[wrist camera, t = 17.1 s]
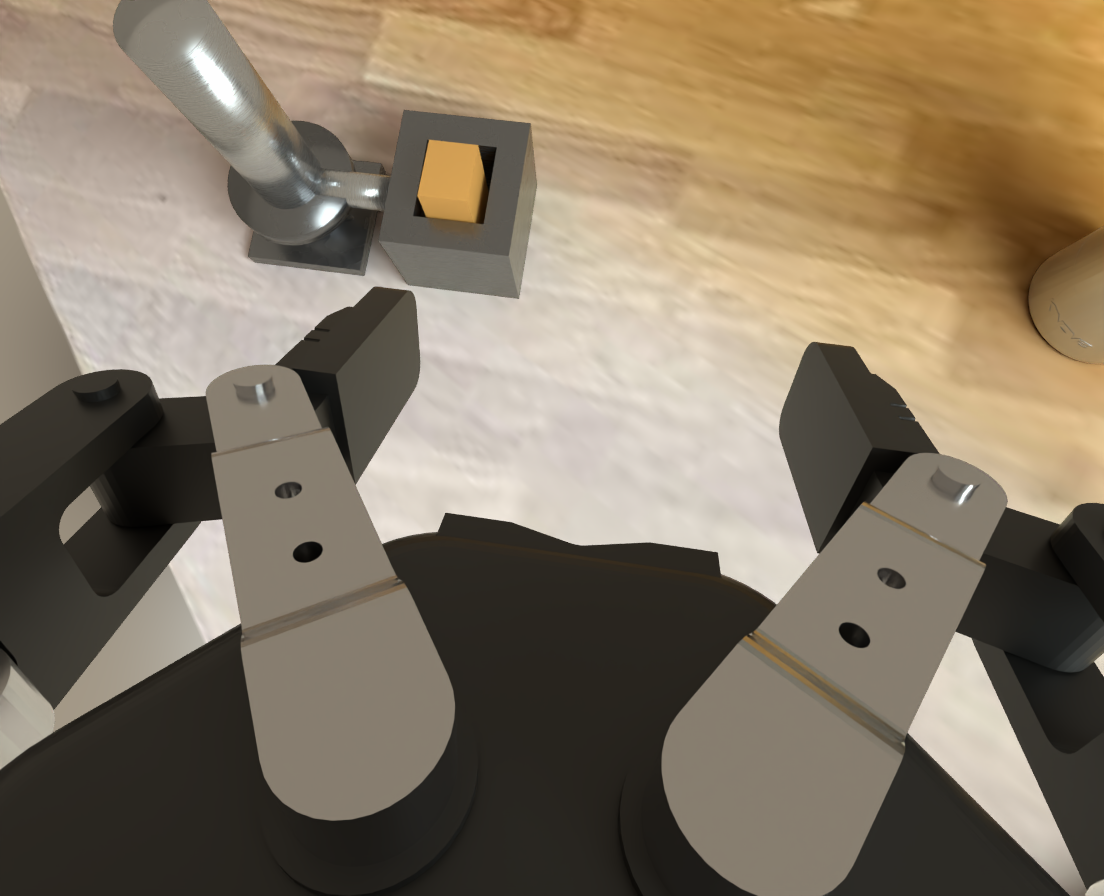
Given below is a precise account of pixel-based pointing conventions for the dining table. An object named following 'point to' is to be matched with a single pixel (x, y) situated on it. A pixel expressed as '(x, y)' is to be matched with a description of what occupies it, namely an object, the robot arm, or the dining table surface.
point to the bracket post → (333, 165)
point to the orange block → (453, 183)
